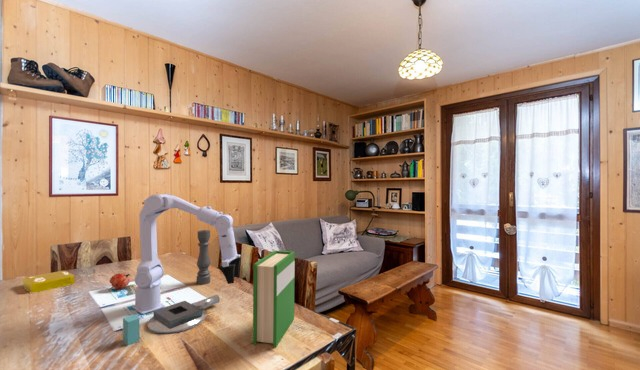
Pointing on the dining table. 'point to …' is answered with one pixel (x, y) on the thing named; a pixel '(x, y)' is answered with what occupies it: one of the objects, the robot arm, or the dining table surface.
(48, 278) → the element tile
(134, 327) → the teal rectangular prism
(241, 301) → the dining table surface
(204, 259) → the candle holder
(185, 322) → the rosette bracket
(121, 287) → the pomegranate
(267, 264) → the hardback book
